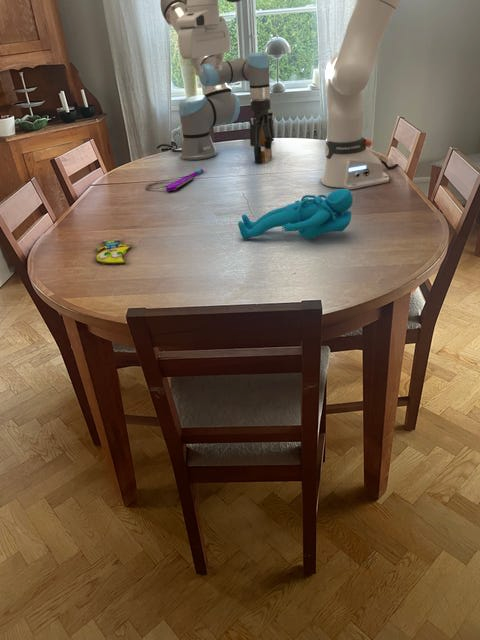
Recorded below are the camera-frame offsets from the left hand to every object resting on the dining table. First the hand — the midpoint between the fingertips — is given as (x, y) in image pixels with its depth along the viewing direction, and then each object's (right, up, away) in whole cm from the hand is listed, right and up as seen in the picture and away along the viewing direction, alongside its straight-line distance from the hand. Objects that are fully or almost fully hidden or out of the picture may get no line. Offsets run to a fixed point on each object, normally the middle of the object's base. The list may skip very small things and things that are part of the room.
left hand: (263, 160), depth 195 cm
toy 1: (-44, -47, -66) cm, 92 cm away
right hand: (-19, +9, -52) cm, 56 cm away
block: (0, 0, 0) cm, 0 cm away
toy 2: (+5, -42, -66) cm, 78 cm away
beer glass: (+2, +16, +24) cm, 29 cm away
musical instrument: (-34, -13, -15) cm, 40 cm away
